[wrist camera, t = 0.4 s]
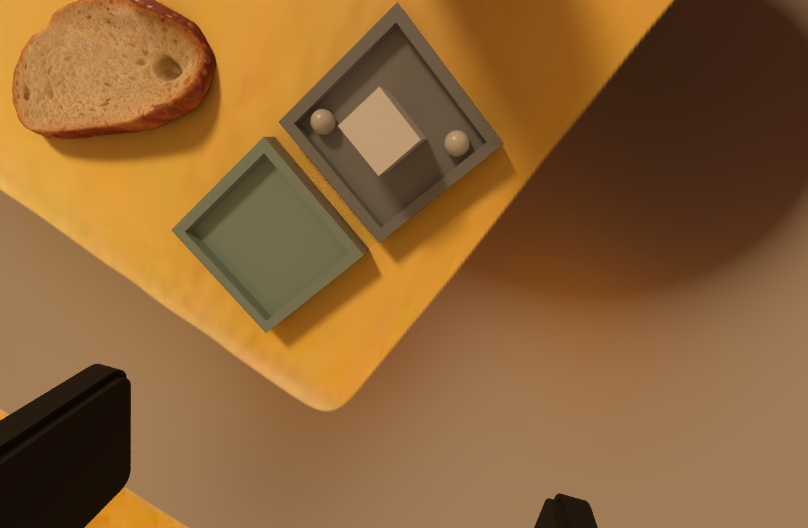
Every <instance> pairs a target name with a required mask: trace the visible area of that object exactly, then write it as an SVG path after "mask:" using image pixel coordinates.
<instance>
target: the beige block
mask: <svg viewBox="0 0 808 528" xmlns="http://www.w3.org/2000/svg"><path fill="white" fill-rule="evenodd" d="M338 127H339V128H340V129H341V130H342V132H343V133H344V134H345V135H346V137H347V138H348V139H349V140H350V141H351V143H352V144H353V145H354V146H355V148H356V149H357V150H358V151H359V153H360V154H361V155H362V156H363V158H364V159H365V160H366V161H367V162H368V164H369V165H370V166H371V167H372V169H373V170H374V171H375V172H376V174H377V175H378V176H380V175H382V174H384V173H386V172H388V171H390V170H391V169H392V168H393V167H394V166H396V165H397V164H398V163H399V162H400V161H401V160H403V159H404V158H405V157H406V156H407V155H408V154H410V153H411V152H412V151H413V150H414V149H415V148H417V147H418V146H419V145H420V144H421V143H422V142H424V141H425V140H426V139H427V138H426V137H425V135H424V134H423V133H422V132H421V130H420V129H419V128H418V126H417V125H416V124H415V123H414V121H413V120H412V119H411V118H410V116H409V115H408V114H407V112H406V111H405V110H404V109H403V107H402V106H401V105H400V103H399V102H398V101H397V100H396V98H395V97H394V96H393V94H392V93H391V92H389V91H387V90H385V89H383V88H381V87H378V88H377V89H376V90H375V91H374V92H373V93H372V94H371V95H370V96H369V97H368V98H367V99H366V100H365V101H364V102H362V103H361V104H360V105H359V106H358V107H357V108H356V109H355V110H354V111H353V112H352V113H351V114H350V115H349V116H348V117H347V118H346V119H344V120H343V121H342V122H341V123H340V124H339V125H338Z"/></svg>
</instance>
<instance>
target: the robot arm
mask: <svg viewBox="0 0 808 528" xmlns="http://www.w3.org/2000/svg"><path fill="white" fill-rule="evenodd" d="M130 431H131V384H130V381H129V380H128V379H127V378H126V374H125V372H124V371H122V370H119V369H115V368H112V367H109V366H105V365H101V364H94V365H92V366H89V367H88V368H86V369H85V370H83V371H81V372H79V373H78V374H76V375H75V376H73V377H71V378H70V379H68V380H66V381H65V382H63V383H61V384H60V385H58V386H56V387H55V388H53V389H51V390H50V391H48V392H46V393H45V394H43V395H42V396H40V397H38V398H37V399H35V400H34V401H32V402H30V403H28V404H27V405H25V406H23V407H22V408H20V409H19V410H17V411H15V412H14V413H12V414H10V415H9V416H7V417H5V418H4V419H2V420H0V528H84V527H85V526H86V525H87V524H88V523H89V522H90V521H91V520H92V519H93V518H94V517H95V516H96V515H97V514H98V513H99V512H100V511H101V510H102V509H103V508H104V507H105V506H106V505H107V504H108V503H109V502H110V501H111V500H112V499H113V498H114V497H115V496H116V495H117V494H118V493H119V492H120V491H121V489H122V488H123V487H124V486H125V484H126V482H127V481H128V478H129V476H130V470H131V466H130V464H131V461H130V460H131V459H130V458H131V457H130V455H131V450H130V449H131V447H130V445H131V436H130V435H131V432H130ZM534 528H597V525H596V521H595V518H594V515H593V512H592V509H591V507H590V505H589V503H588V502H587V501H585V500H581V499H578V498H574V497H570V496H567V495H563V494H557V495H556V497H555V498H554V500H553V499H550V498H548V499H546V501H545V503H544V505H543V508H542V510H541V512H540V515H539V517H538V520H537V522H536V525H535V527H534Z"/></svg>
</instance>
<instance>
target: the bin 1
mask: <svg viewBox="0 0 808 528" xmlns="http://www.w3.org/2000/svg"><path fill="white" fill-rule="evenodd" d="M172 231H173V232H174V233H175V235H176V236H177V237H178V238H179V239H180V240H181V241H182V242H183V243H184V244H185V245H186V247H187V248H188V249H189V250H190V251H191V252H192V253H193V254H194V255H195V256H196V257H197V258H198V260H199V261H200V262H201V263H202V264H203V265H204V266H205V267H206V268H207V269H208V270H209V272H210V273H211V274H212V275H213V276H214V277H215V278H216V279H217V280H218V281H219V282H220V284H221V285H222V286H223V287H224V288H225V289H226V290H227V291H228V292H229V293H230V294H231V295H232V297H233V298H234V299H235V300H236V301H237V302H238V303H239V304H240V305H241V306H242V307H243V309H244V310H245V311H246V312H247V313H248V314H249V315H250V316H251V317H252V318H253V319H254V320H255V322H256V323H257V324H258V325H259V326H260V327H261V328H262V329H263V330H264V331H265V332H266V333H267V332H268V331H270V330H271V329H272V328H273V327H275V326H276V325H277V324H278V323H280V322H281V321H282V320H283V319H285V318H286V317H287V316H288V315H290V314H291V313H292V312H293V311H295V310H296V309H297V308H298V307H300V306H301V305H302V304H303V303H305V302H306V301H307V300H308V299H310V298H311V297H312V296H313V295H315V294H316V293H317V292H319V291H320V290H321V289H322V288H324V287H325V286H326V285H327V284H329V283H330V282H331V281H332V280H334V279H335V278H336V277H337V276H339V275H340V274H341V273H342V272H344V271H345V270H346V269H347V268H349V267H350V266H351V265H352V264H354V263H355V262H356V261H357V260H359V259H360V258H361V257H362V256H364V255H365V253H366V252H367V251H368V250H369V249H368V247H367V246H366V245H365V244H364V243H363V241H362V240H361V239H360V238H359V237H358V235H357V234H356V233H355V232H354V231H353V230H352V228H351V227H350V226H349V225H348V224H347V222H346V221H345V220H344V219H343V218H342V216H341V215H340V214H339V213H338V212H337V210H336V209H335V208H334V207H333V206H332V205H331V203H330V202H329V201H328V200H327V199H326V197H325V196H324V195H323V194H322V193H321V191H320V190H319V189H318V188H317V187H316V186H315V184H314V183H313V182H312V181H311V180H310V178H309V177H308V176H307V175H306V174H305V172H304V171H303V170H302V169H301V168H300V167H299V165H298V164H297V163H296V162H295V161H294V159H293V158H292V157H291V156H290V155H289V153H288V152H287V151H286V150H285V149H284V148H283V146H282V145H281V144H280V143H279V142H278V140H277V139H276V138H275V137H263V138H262V139H261V140H260V141H259V142H258V143H257V144H256V145H255V146H254V147H253V148H252V149H251V150H250V151H249V152H248V153H247V154H246V155H245V156H244V157H243V158H242V159H241V160H240V161H239V162H238V163H237V164H236V166H235V167H234V168H233V169H232V170H231V171H230V172H229V173H228V174H227V175H226V176H225V177H224V178H223V179H222V180H221V181H220V182H219V183H218V184H217V185H216V186H215V187H214V188H213V189H212V190H211V191H210V192H209V193H208V194H207V195H206V196H205V197H204V198H203V199H202V200H201V201H200V202H199V203H198V204H197V205H196V206H195V207H194V208H193V209H192V210H191V211H190V212H189V213H188V214H187V215H186V216H185V217H184V218H183V219H182V220H181V221H180V222H179V223H178V224H177V225H176V226H175V227H174V228H173V229H172Z"/></svg>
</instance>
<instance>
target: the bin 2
mask: <svg viewBox="0 0 808 528" xmlns="http://www.w3.org/2000/svg"><path fill="white" fill-rule="evenodd" d="M378 87H381V88H383V89H385V90H387V91H389V92H391V93H392V94H393V96H394V97H395V98H396V100H397V101H398V102H399V103H400V105H401V106H402V107H403V109H404V110H405V111H406V112H407V114H408V115H409V116H410V118H411V119H412V120H413V121H414V123H415V124H416V125H417V126H418V128H419V129H420V130H421V132H422V133H423V134H424V135H425V137H426V138H427V139H426V140H425V141H424V142H422V143H421V144H420V145H419V146H418V147H417V148H415V149H414V150H413V151H412V152H411V153H410V154H408V155H407V156H406V157H405V158H404V159H403V160H401V161H400V162H399V163H398V164H397V165H396V166H394V167H393V168H392V169H391V170H390V171H388V172H386V173H384V174H382V175H380V176H378V175H377V174H376V172H375V171H374V170H373V169H372V167H371V166H370V165H369V164H368V162H367V161H366V160H365V159H364V158H363V156H362V155H361V154H360V153H359V151H358V150H357V149H356V148H355V146H354V145H353V144H352V143H351V141H350V140H349V139H348V138H347V137H346V135H345V134H344V133H343V132H342V130H341V129H340V128H339V127H338V125H339V124H340V123H341V122H342V121H343V120H344V119H346V118H347V117H348V116H349V115H350V114H351V113H352V112H353V111H354V110H355V109H356V108H357V107H358V106H359V105H360V104H361V103H362V102H364V101H365V100H366V99H367V98H368V97H369V96H370V95H371V94H372V93H373V92H374V91H375V90H376V89H377V88H378ZM279 123H280V124H281V125H282V127H283V128H284V129H285V130H286V131H287V133H288V134H289V135H290V136H291V137H292V139H293V140H294V141H295V142H296V143H297V145H298V146H299V147H300V148H301V149H302V151H303V152H304V153H305V154H306V155H307V157H308V158H309V159H310V160H311V161H312V162H313V164H314V165H315V166H316V167H317V168H318V170H319V171H320V172H321V173H322V174H323V176H324V177H325V178H326V179H327V180H328V182H329V183H330V184H331V185H332V186H333V188H334V189H335V190H336V191H337V192H338V194H339V195H340V196H341V197H342V198H343V200H344V201H345V202H346V203H347V204H348V206H349V207H350V208H351V209H352V210H353V212H354V213H355V214H356V215H357V216H358V218H359V219H360V220H361V221H362V222H363V224H364V225H365V226H366V227H367V228H368V230H369V231H370V232H371V233H372V234H373V236H374V237H375V238H376V239H377V240H378V242H379V243H380V242H381V241H382V240H384V239H385V238H386V237H387V236H389V235H390V234H391V233H393V232H394V231H395V230H396V229H398V228H399V227H400V226H401V225H403V224H404V223H405V222H406V221H408V220H409V219H410V218H411V217H413V216H414V215H415V214H416V213H418V212H419V211H420V210H421V209H423V208H424V207H425V206H426V205H428V204H429V203H430V202H431V201H433V200H434V199H435V198H436V197H438V196H439V195H440V194H441V193H443V192H444V191H445V190H446V189H448V188H449V187H450V186H451V185H453V184H454V183H455V182H456V181H458V180H459V179H460V178H461V177H463V176H464V175H465V174H466V173H468V172H469V171H470V170H472V169H473V168H474V167H475V166H477V165H478V164H479V163H480V162H482V161H483V160H484V159H485V158H487V157H488V156H489V155H490V154H492V153H493V152H494V151H495V150H497V149H498V148H499V147H500V146H502V145H503V142H502V141H501V140H500V138H499V137H498V136H497V134H496V133H495V132H494V130H493V129H492V128H491V126H490V125H489V124H488V122H487V121H486V120H485V118H484V117H483V116H482V114H481V113H480V112H479V110H478V109H477V108H476V106H475V105H474V104H473V102H472V101H471V100H470V98H469V97H468V96H467V94H466V93H465V92H464V90H463V89H462V88H461V86H460V85H459V84H458V82H457V81H456V80H455V78H454V77H453V76H452V74H451V73H450V72H449V70H448V69H447V68H446V66H445V65H444V64H443V62H442V61H441V60H440V58H439V57H438V56H437V54H436V53H435V52H434V50H433V49H432V48H431V46H430V45H429V43H428V42H427V41H426V39H425V38H424V37H423V35H422V34H421V33H420V31H419V30H418V29H417V27H416V26H415V25H414V23H413V22H412V21H411V19H410V18H409V17H408V15H407V14H406V13H405V11H404V10H403V9H402V7H401V6H400V5H399V3H398V2H397V3H396V4H395V5H394V6H393V7H392V8H391V9H390V10H389V11H388V12H387V13H386V14H385V15H384V16H383V17H382V18H381V19H380V20H379V21H378V22H377V23H376V24H375V25H374V26H373V27H372V28H371V29H370V30H369V31H368V32H367V33H366V34H365V35H364V37H363V38H362V39H361V40H360V41H359V42H358V43H357V44H356V45H355V46H354V47H353V48H352V49H351V50H350V51H349V52H348V53H347V54H346V55H345V56H344V57H343V58H342V59H341V60H340V61H339V62H338V63H337V64H336V65H335V66H334V67H333V68H332V69H331V70H330V71H329V72H328V73H327V74H326V75H325V76H324V77H323V78H322V79H321V80H320V81H319V82H318V83H317V84H316V85H315V86H314V87H313V88H312V89H311V90H310V91H309V92H308V93H307V94H306V95H305V96H304V97H303V98H302V99H301V100H300V101H299V102H298V103H297V104H296V105H295V106H294V107H293V108H292V109H291V110H290V111H289V112H288V113H287V114H286V115H285V116H284V117H283V118H282V119H281V120H280V121H279Z"/></svg>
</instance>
